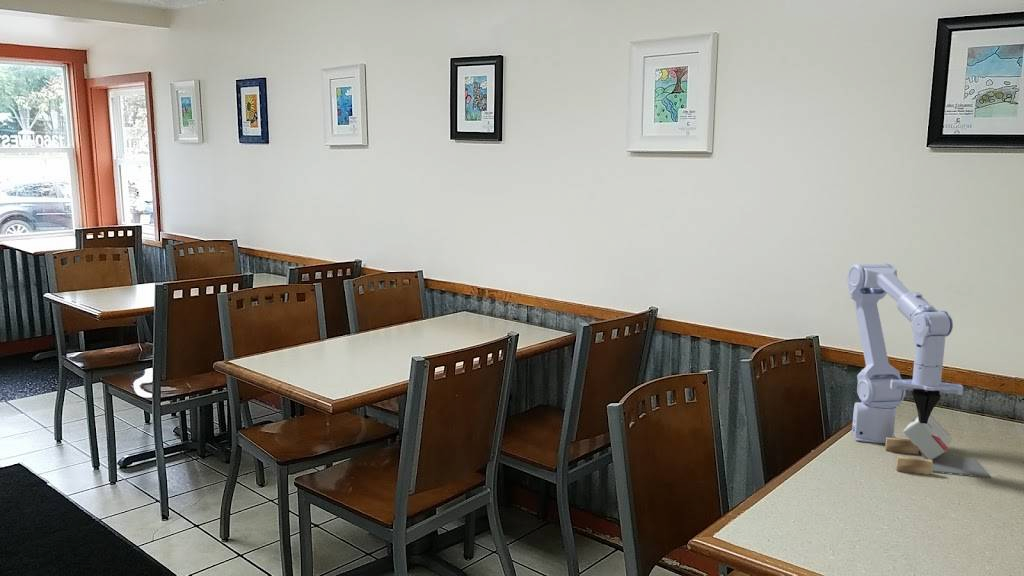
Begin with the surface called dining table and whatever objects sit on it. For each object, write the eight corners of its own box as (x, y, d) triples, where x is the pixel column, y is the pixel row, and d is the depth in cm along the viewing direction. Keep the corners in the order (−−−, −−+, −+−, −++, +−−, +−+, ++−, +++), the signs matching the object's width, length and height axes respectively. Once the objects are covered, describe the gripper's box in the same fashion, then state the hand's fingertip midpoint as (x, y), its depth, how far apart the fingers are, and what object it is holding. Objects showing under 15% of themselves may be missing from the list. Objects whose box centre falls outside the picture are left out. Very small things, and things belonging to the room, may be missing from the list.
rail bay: (896, 471, 174) (898, 458, 173) (885, 449, 187) (886, 437, 187) (931, 474, 172) (932, 461, 171) (917, 452, 185) (918, 440, 185)
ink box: (929, 462, 178) (935, 449, 188) (947, 450, 176) (953, 438, 185) (901, 432, 181) (909, 420, 190) (919, 419, 178) (926, 409, 188)
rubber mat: (932, 472, 173) (932, 470, 173) (921, 455, 184) (921, 453, 184) (990, 478, 170) (990, 476, 170) (975, 460, 180) (976, 458, 180)
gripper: (896, 365, 173) (891, 424, 175) (969, 370, 170) (963, 430, 172) (890, 358, 180) (885, 415, 182) (960, 363, 176) (954, 420, 178)
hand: (922, 422), depth 177 cm, fingers closed
